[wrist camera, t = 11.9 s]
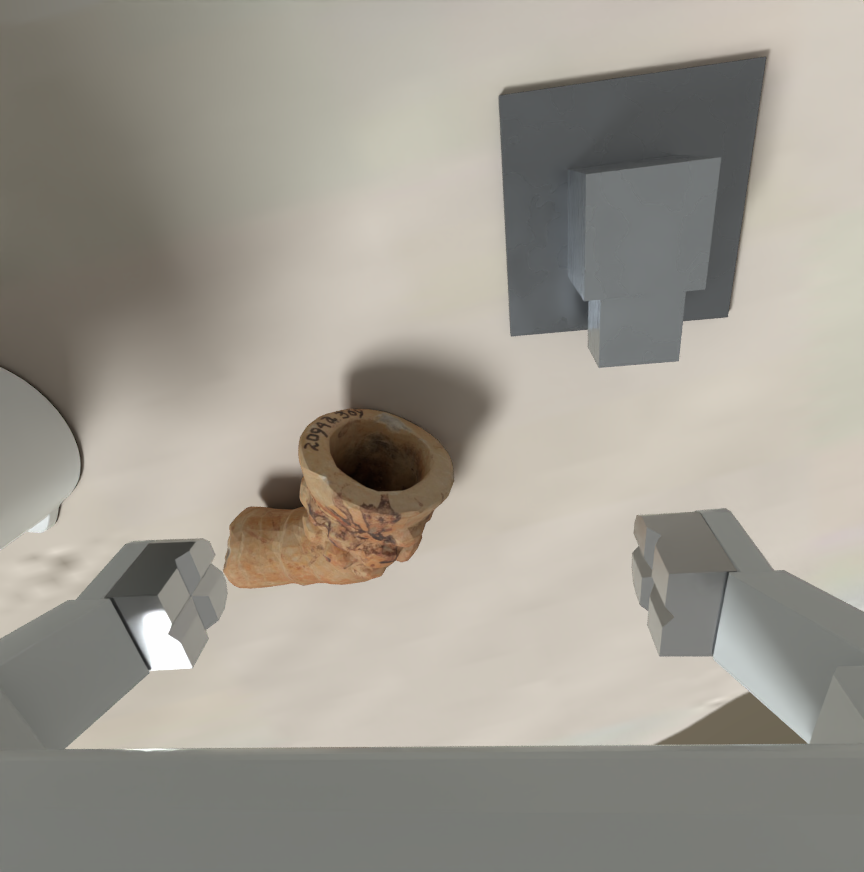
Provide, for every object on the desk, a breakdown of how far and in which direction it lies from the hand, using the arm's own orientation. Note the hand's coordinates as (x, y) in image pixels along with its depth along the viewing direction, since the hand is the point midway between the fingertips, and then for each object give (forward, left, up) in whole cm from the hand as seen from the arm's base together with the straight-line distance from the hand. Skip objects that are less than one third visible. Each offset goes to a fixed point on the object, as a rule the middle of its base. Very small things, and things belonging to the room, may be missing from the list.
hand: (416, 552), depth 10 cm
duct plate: (+10, +2, -28) cm, 30 cm away
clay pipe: (-11, -16, -29) cm, 35 cm away
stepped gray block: (+10, 0, -28) cm, 29 cm away
